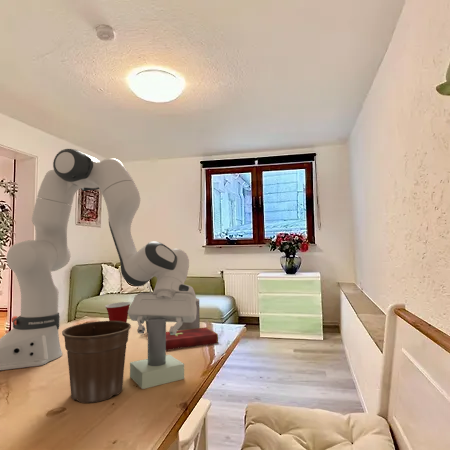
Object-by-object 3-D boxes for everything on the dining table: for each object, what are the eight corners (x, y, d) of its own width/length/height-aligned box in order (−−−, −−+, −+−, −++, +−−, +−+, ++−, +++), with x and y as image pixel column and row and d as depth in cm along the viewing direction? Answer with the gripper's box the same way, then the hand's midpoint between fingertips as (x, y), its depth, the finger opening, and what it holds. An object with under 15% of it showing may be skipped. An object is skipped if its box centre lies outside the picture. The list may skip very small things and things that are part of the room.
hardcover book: (218, 344, 127) (218, 333, 127) (163, 352, 118) (163, 339, 118) (206, 336, 137) (206, 326, 138) (155, 343, 129) (155, 332, 129)
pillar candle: (180, 328, 150) (180, 294, 151) (202, 329, 149) (201, 295, 149) (174, 334, 140) (174, 298, 141) (197, 335, 139) (196, 298, 140)
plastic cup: (107, 328, 151) (108, 301, 152) (132, 327, 152) (132, 301, 153) (101, 334, 140) (102, 305, 141) (128, 333, 142) (128, 305, 142)
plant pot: (58, 414, 73) (60, 339, 74) (62, 386, 88) (63, 324, 89) (134, 400, 80) (135, 331, 81) (125, 376, 95) (126, 318, 96)
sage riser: (142, 389, 86) (142, 373, 86) (129, 376, 94) (130, 362, 94) (184, 378, 92) (184, 363, 93) (169, 368, 101) (169, 354, 101)
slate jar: (151, 367, 90) (151, 322, 91) (144, 362, 94) (145, 319, 95) (168, 363, 93) (168, 319, 94) (161, 358, 97) (161, 316, 98)
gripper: (133, 286, 103) (117, 325, 93) (197, 287, 100) (188, 328, 90) (139, 298, 107) (124, 337, 97) (201, 299, 104) (193, 340, 94)
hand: (156, 333), depth 93 cm, fingers open, 8 cm apart
